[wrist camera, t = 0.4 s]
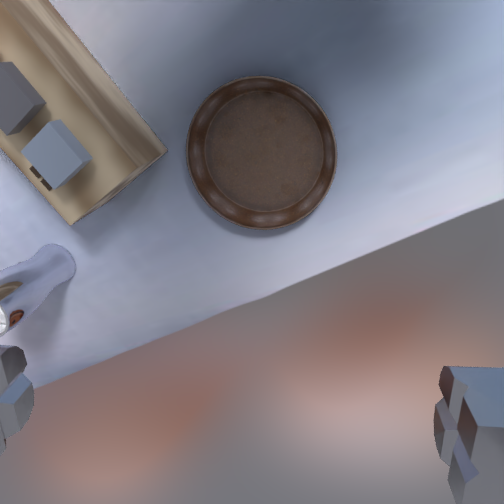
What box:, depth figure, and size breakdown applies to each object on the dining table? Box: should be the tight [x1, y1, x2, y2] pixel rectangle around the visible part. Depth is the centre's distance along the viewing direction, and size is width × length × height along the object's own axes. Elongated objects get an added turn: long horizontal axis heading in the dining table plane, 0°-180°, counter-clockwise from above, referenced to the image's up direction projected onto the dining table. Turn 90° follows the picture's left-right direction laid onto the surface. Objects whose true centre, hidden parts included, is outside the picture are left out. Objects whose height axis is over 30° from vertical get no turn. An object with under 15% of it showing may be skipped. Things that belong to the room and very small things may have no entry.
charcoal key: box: [0, 62, 46, 136], centre depth 46 cm, size 5×5×2 cm
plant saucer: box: [186, 76, 337, 230], centre depth 54 cm, size 18×18×3 cm
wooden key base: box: [0, 0, 168, 226], centre depth 53 cm, size 12×26×9 cm, turn 39°
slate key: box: [21, 119, 93, 190], centre depth 48 cm, size 5×5×2 cm
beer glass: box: [0, 244, 75, 337], centre depth 62 cm, size 7×7×15 cm
